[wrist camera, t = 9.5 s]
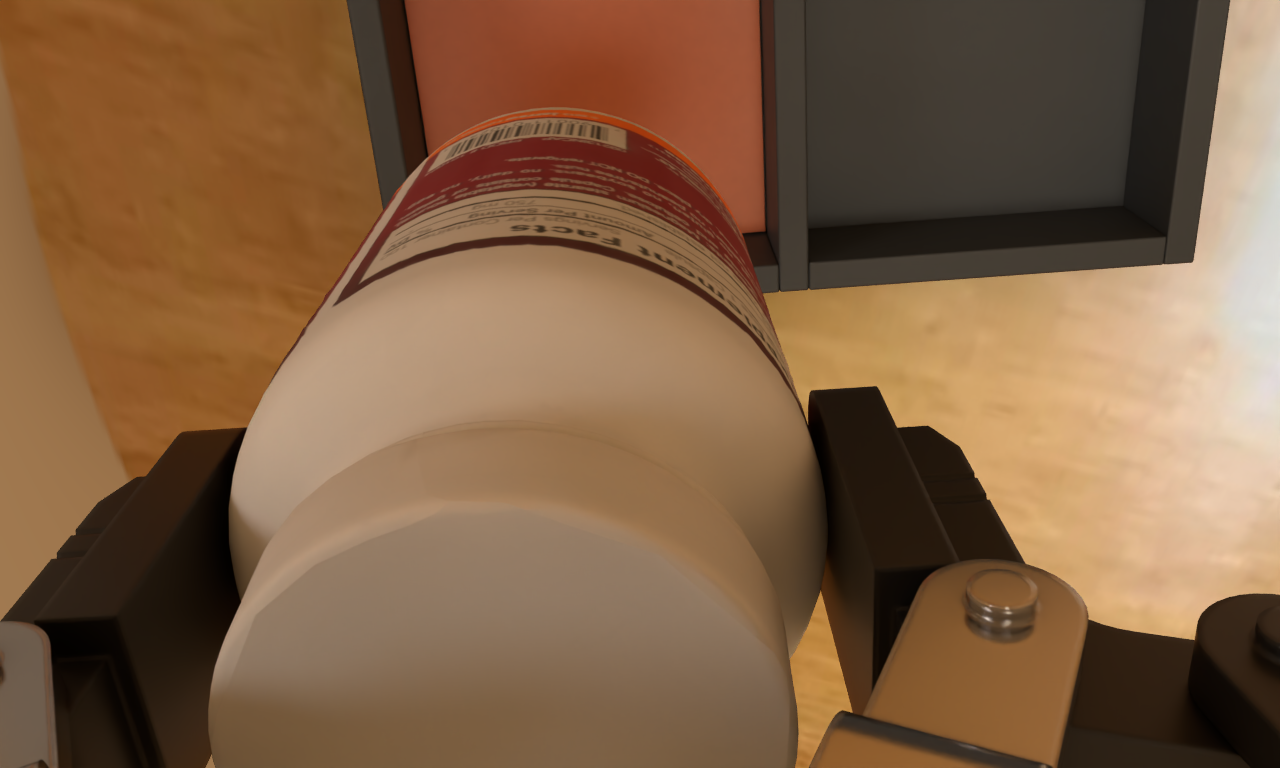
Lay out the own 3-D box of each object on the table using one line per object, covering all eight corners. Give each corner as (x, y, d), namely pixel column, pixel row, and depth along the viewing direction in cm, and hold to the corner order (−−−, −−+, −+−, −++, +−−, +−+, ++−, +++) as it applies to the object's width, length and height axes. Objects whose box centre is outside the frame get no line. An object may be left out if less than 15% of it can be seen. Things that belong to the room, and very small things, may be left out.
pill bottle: (576, 510, 21) (530, 1119, 11) (303, 291, 19) (-62, 780, 9) (827, 278, 19) (1057, 751, 9) (553, 10, 17) (447, 225, 7)
